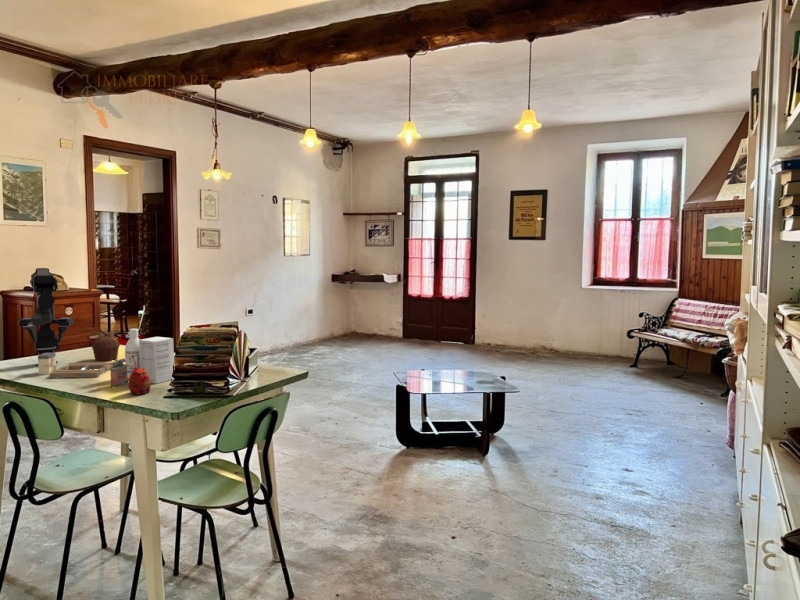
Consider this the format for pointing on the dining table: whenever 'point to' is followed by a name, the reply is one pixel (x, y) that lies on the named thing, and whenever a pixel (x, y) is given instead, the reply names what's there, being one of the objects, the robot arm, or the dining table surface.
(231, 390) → the dining table surface
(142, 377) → the red clay folk toy
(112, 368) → the lighter
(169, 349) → the supplement box
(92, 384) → the dining table surface
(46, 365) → the block
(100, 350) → the muffin
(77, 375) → the wooden frame
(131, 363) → the bath foam
